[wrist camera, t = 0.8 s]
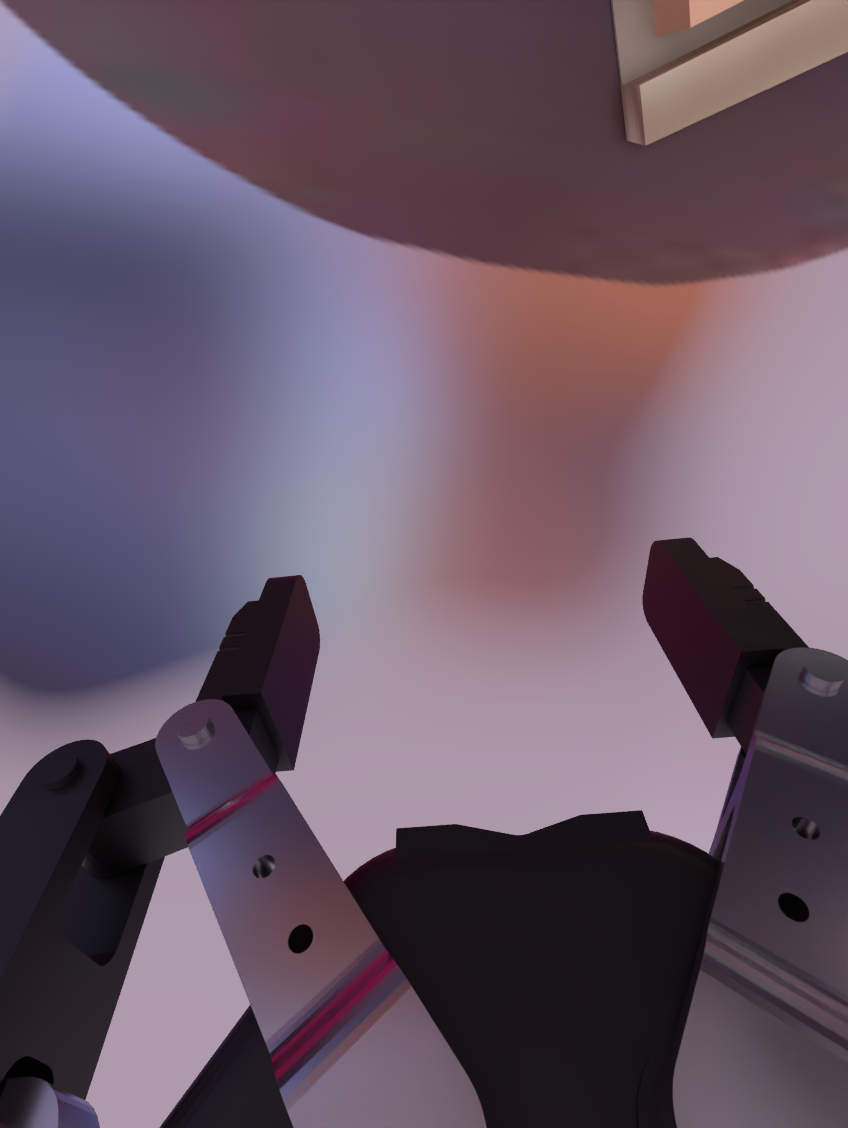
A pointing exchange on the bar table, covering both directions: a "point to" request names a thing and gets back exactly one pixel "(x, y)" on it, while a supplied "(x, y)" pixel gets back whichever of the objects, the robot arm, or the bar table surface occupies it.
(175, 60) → the bar table surface
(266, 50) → the bar table surface
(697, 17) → the pink cube
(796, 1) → the slot track
